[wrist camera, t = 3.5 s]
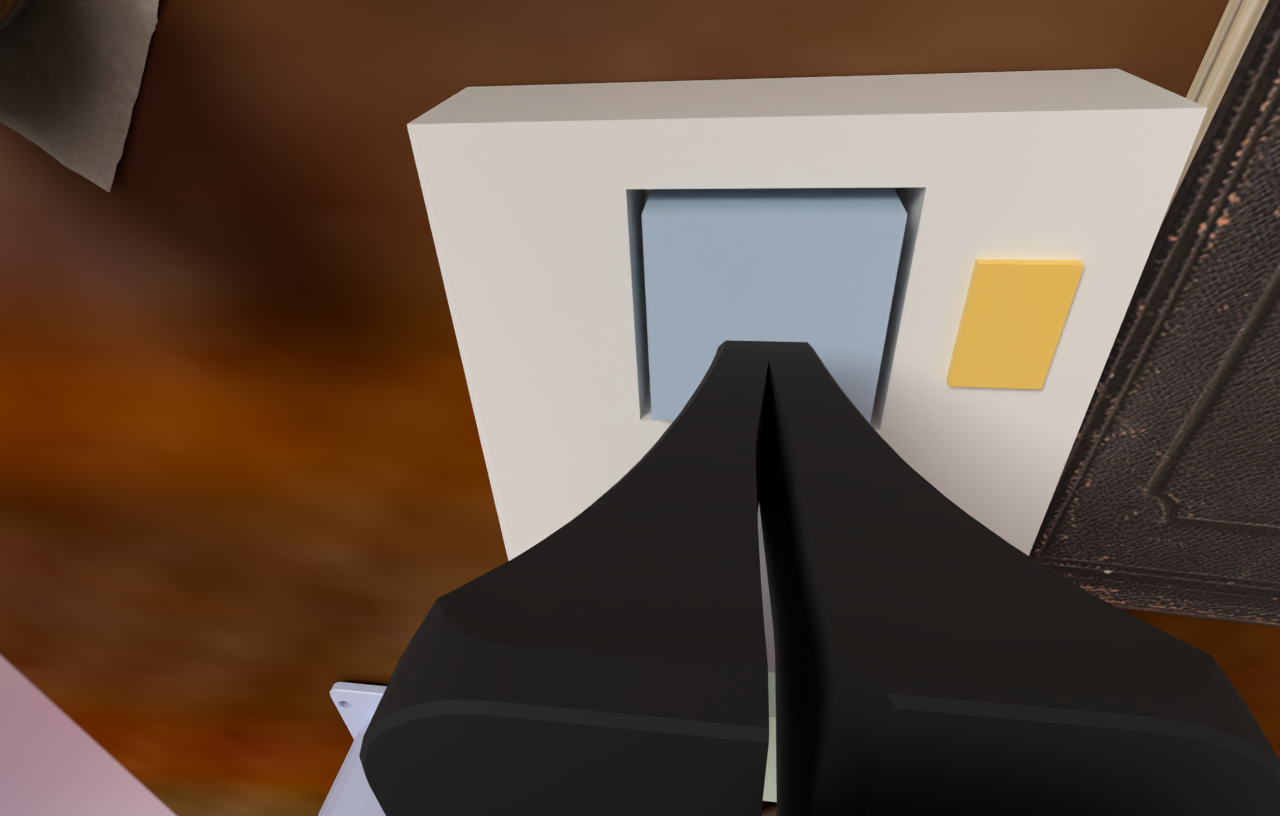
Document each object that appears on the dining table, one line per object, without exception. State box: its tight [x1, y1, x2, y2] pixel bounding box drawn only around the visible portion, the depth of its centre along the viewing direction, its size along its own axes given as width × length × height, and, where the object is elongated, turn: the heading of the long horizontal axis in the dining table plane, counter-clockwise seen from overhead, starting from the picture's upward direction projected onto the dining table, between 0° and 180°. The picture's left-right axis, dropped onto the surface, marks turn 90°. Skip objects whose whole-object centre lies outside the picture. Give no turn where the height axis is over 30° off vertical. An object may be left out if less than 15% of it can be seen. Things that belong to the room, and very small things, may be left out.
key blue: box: [642, 188, 907, 424], centre depth 13 cm, size 4×4×2 cm
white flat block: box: [407, 69, 1208, 561], centre depth 17 cm, size 19×12×3 cm, turn 3°
